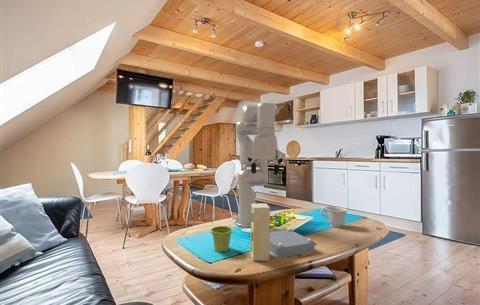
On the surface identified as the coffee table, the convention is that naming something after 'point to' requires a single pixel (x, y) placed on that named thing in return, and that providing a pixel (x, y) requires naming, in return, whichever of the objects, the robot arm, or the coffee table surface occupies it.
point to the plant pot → (221, 237)
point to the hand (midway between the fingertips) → (264, 173)
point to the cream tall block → (260, 232)
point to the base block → (289, 243)
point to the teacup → (335, 215)
